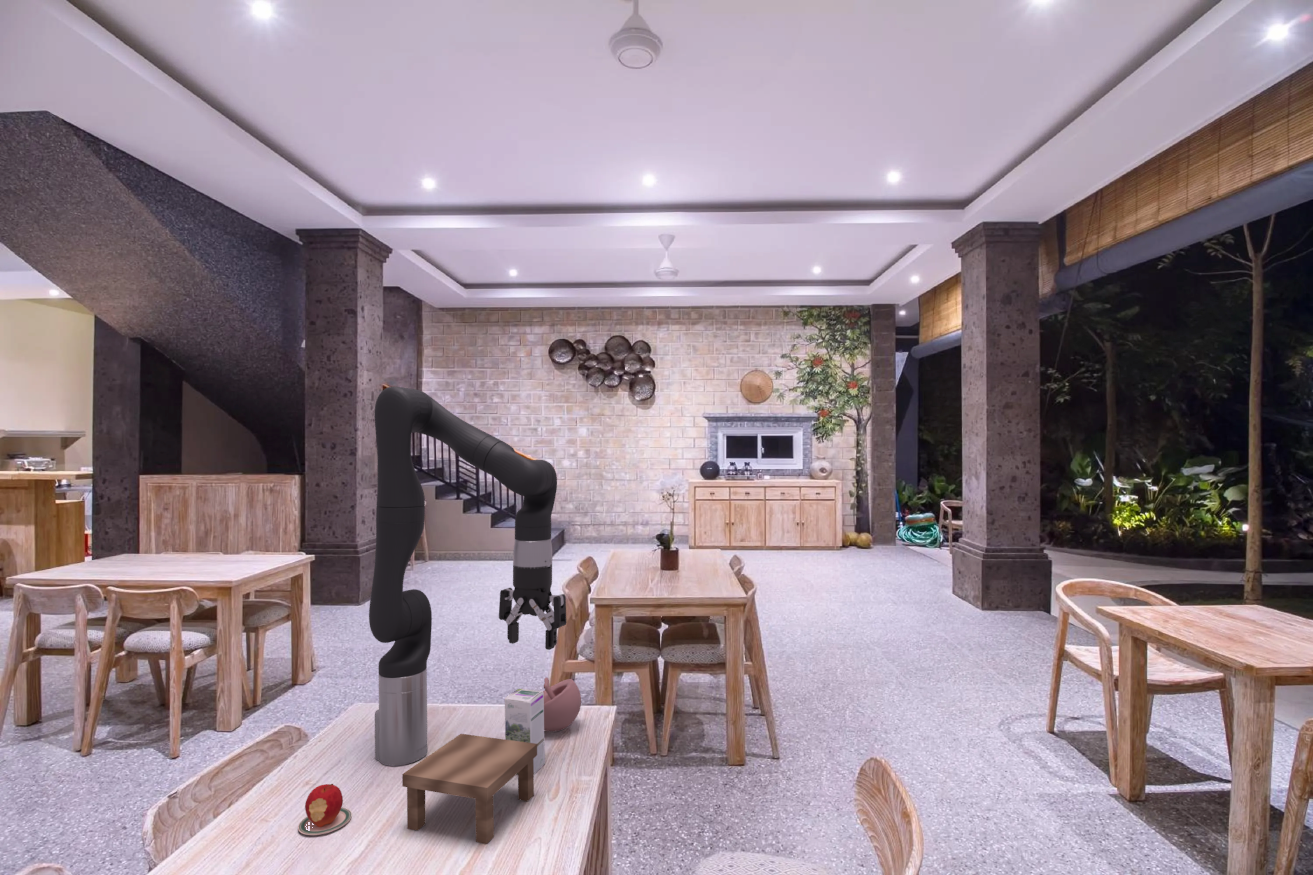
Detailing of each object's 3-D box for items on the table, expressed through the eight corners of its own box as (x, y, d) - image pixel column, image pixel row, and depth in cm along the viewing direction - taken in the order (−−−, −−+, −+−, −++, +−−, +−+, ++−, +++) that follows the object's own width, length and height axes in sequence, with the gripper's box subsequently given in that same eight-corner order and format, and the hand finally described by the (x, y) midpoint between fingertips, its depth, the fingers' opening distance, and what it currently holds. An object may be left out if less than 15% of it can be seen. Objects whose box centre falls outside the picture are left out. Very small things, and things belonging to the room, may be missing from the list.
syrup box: (546, 763, 127) (545, 689, 128) (530, 778, 122) (529, 700, 122) (520, 759, 129) (519, 686, 129) (504, 773, 123) (503, 697, 124)
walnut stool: (402, 829, 105) (402, 773, 106) (461, 782, 120) (460, 733, 121) (487, 846, 100) (487, 787, 101) (537, 794, 115) (537, 743, 116)
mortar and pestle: (531, 719, 149) (530, 669, 149) (583, 717, 150) (582, 667, 150) (522, 742, 137) (522, 687, 137) (579, 739, 138) (578, 685, 138)
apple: (358, 824, 107) (357, 784, 108) (304, 844, 102) (304, 802, 102) (343, 805, 113) (343, 767, 114) (292, 823, 108) (292, 783, 108)
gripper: (491, 562, 125) (489, 645, 125) (552, 568, 119) (551, 656, 119) (514, 556, 132) (513, 635, 132) (574, 561, 126) (573, 645, 126)
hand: (531, 645), depth 125 cm, fingers open, 8 cm apart
